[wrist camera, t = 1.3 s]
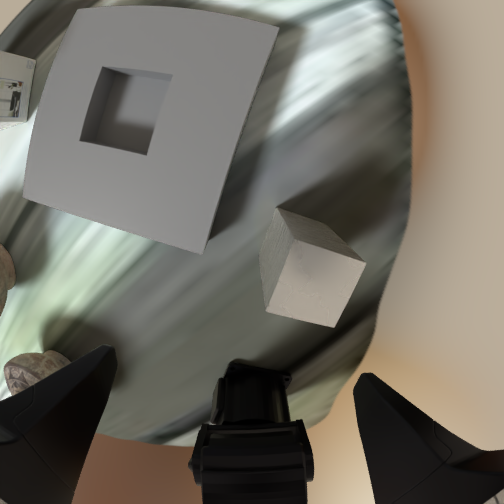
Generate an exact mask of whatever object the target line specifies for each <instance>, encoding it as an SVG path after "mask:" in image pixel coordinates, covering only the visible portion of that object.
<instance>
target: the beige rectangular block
mask: <svg viewBox="0 0 504 504" xmlns="http://www.w3.org/2000/svg"><path fill="white" fill-rule="evenodd" d="M259 263H260V270H261V278H262V286H263V294H264V302H265V309H266V312H270V313H274V314H278V315H282V316H286V317H290V318H294V319H298V320H302V321H307V322H311V323H315V324H320V325H324V326H329V327H333V328H334V327H335V325H336V323H337V321H338V320H339V318H340V316H341V314H342V312H343V310H344V308H345V306H346V304H347V302H348V300H349V298H350V296H351V294H352V292H353V290H354V288H355V286H356V284H357V282H358V280H359V278H360V276H361V274H362V272H363V269H364V267H365V265H366V262H365V261H364V260H363V259H362V258H361V257H360V256H359V255H358V254H357V253H356V252H355V251H353V250H352V249H351V248H350V247H349V246H348V245H347V244H346V243H345V242H344V241H343V240H342V239H341V238H340V237H339V236H338V235H337V234H336V233H334V232H333V231H332V230H331V229H330V228H329V227H328V226H327V225H326V224H324V223H321V222H319V221H316V220H313V219H310V218H307V217H304V216H301V215H299V214H296V213H293V212H290V211H287V210H284V209H281V208H278V207H276V208H275V211H274V214H273V217H272V220H271V222H270V225H269V228H268V231H267V234H266V237H265V239H264V242H263V245H262V248H261V251H260V253H259Z"/></svg>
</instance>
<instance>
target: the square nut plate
mask: <svg viewBox="0 0 504 504" xmlns="http://www.w3.org/2000/svg"><path fill="white" fill-rule="evenodd" d="M278 32H279V27H276V26H273V25H269V24H266V23H262V22H258V21H254V20H250V19H246V18H242V17H237V16H232V15H227V14H222V13H216V12H210V11H204V10H197V9H188V8H179V7H166V6H142V5H128V6H104V7H92V8H83V9H77V11H76V13H75V15H74V17H73V19H72V21H71V23H70V25H69V27H68V29H67V31H66V33H65V35H64V37H63V39H62V42H61V44H60V46H59V48H58V51H57V53H56V56H55V58H54V61H53V63H52V66H51V69H50V71H49V74H48V77H47V80H46V83H45V86H44V89H43V92H42V96H41V99H40V103H39V106H38V110H37V114H36V118H35V122H34V126H33V130H32V135H31V140H30V145H29V151H28V157H27V163H26V170H25V178H24V187H23V198H25V199H28V200H31V201H34V202H37V203H40V204H43V205H46V206H49V207H52V208H55V209H58V210H61V211H64V212H67V213H70V214H73V215H76V216H79V217H82V218H85V219H89V220H92V221H95V222H98V223H101V224H104V225H107V226H110V227H114V228H117V229H120V230H123V231H126V232H129V233H133V234H136V235H139V236H142V237H145V238H149V239H152V240H155V241H158V242H162V243H165V244H168V245H171V246H175V247H178V248H181V249H185V250H188V251H191V252H195V253H198V254H201V255H203V253H204V250H205V248H206V245H207V243H208V240H209V237H210V233H211V230H212V226H213V223H214V220H215V216H216V213H217V210H218V206H219V203H220V200H221V196H222V193H223V190H224V187H225V184H226V180H227V177H228V174H229V171H230V168H231V165H232V162H233V159H234V156H235V153H236V150H237V147H238V144H239V141H240V138H241V135H242V132H243V129H244V126H245V123H246V120H247V117H248V115H249V112H250V109H251V106H252V103H253V100H254V98H255V95H256V92H257V90H258V87H259V84H260V81H261V79H262V76H263V73H264V71H265V68H266V66H267V63H268V60H269V58H270V55H271V53H272V50H273V48H274V45H275V42H276V39H277V35H278Z"/></svg>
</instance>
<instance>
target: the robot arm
mask: <svg viewBox="0 0 504 504" xmlns="http://www.w3.org/2000/svg"><path fill="white" fill-rule="evenodd" d="M232 367H235V368H232ZM116 370H117V358H116V353H115V348H114V347H113V346H110V345H106V344H102V345H101V346H99V347H97V348H95V349H94V350H92V351H90V352H89V353H87V354H85V355H83V356H82V357H80V358H78V359H76V360H75V361H73V362H71V363H70V364H68V365H66V366H64V367H63V368H61V369H59V370H57V371H56V372H54V373H52V374H51V375H49V376H47V377H45V378H44V379H42V380H40V381H38V382H37V383H35V384H34V385H31V386H30V387H28V388H26V389H24V390H22V391H20V392H19V393H17V394H15V395H13V396H10V397H8V398H6V399H4V400H2V401H0V504H71V503H72V500H73V496H74V491H75V489H76V486H77V483H78V480H79V477H80V474H81V471H82V468H83V465H84V462H85V459H86V456H87V454H88V451H89V448H90V445H91V443H92V440H93V437H94V434H95V432H96V429H97V427H98V424H99V422H100V419H101V417H102V414H103V412H104V409H105V407H106V404H107V401H108V398H109V394H110V391H111V387H112V384H113V380H114V377H115V374H116ZM291 380H292V376H291V374H289V373H283V372H278V371H272V370H267V369H262V368H257V367H252V366H248V365H243V364H239V363H234V362H232V363H229V364H228V366H227V369H226V371H225V374H224V376H223V378H219V379H218V382H217V385H216V387H215V390H214V392H213V400H212V410H211V419H210V421H211V423H212V424H216V425H209V424H203V423H202V426H201V430H199V433H198V436H197V440H196V443H195V447H194V450H193V454H192V458H191V459H190V461H189V463H188V467H189V469H190V470H191V471H192V472H193V475H194V479H195V482H196V484H197V485H198V486H201V488H202V501H203V504H307V501H308V500H307V482H311V481H313V478H314V460H313V453H312V449H311V445H310V442H309V439H308V436H307V433H306V429H305V426H304V423H303V420H302V419H300V420H296V421H291V419H290V413H289V406H288V400H287V394H286V389H287V387H288V385H289V384H290V382H291ZM353 395H354V402H355V409H356V417H357V423H358V428H359V433H360V437H361V440H362V444H363V449H364V453H365V457H366V461H367V466H368V471H369V475H370V480H371V484H372V489H373V494H374V499H375V504H504V450H495V451H485V450H481V449H478V448H476V447H475V446H473V445H471V444H469V443H468V442H466V441H464V440H463V439H461V438H459V437H458V436H456V435H455V434H453V433H451V432H450V431H448V430H447V429H446V428H444V427H443V426H441V425H440V424H439V423H437V422H436V421H433V419H432V418H430V417H429V416H428V415H427V414H425V413H424V412H423V411H421V410H420V409H419V408H417V407H416V406H415V405H413V404H412V403H411V402H409V401H408V400H407V399H405V398H404V397H403V396H402V395H400V394H399V393H398V392H396V391H395V390H394V389H392V388H391V387H390V386H389V385H387V384H386V383H385V382H383V381H382V380H381V379H379V378H378V377H377V376H376V375H374V374H373V373H362V374H361V375H360V377H359V379H358V381H357V383H356V385H355V386H354V389H353Z"/></svg>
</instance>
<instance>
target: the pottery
mask: <svg viewBox="0 0 504 504" xmlns="http://www.w3.org/2000/svg"><path fill="white" fill-rule="evenodd" d="M15 280H16V275H15V268H14V264H13V261H12V258H11V256H10V254H9V253H8V251H7V250H6V249H5V247H4V246H3V245H1V244H0V316H1V314H2V312H3V309H4V306H5V303H6V299H7V291H8V290H10V289H12V288H13V287H14V285H15ZM70 363H71V362H70V361H69V360H68V359H67V358H66V357H64V356H63V355H62V354H60V353H58V352H56V351H52V350H47V351H46V352H45V353H44V354H42V353H25V354H20V355H18V356H16V357H14V358H12V359H11V360H9V361H8V362H7V363H6V364H5V366H4V376H5V380H6V383H7V386H8V388H9V391H10V392H11V395H12V396H13V395H15V394H17V393H19V392H20V391H22V390H24V389H26V388H28V387H30V386H31V385H34V384H35V383H37V382H38V381H40V380H42V379H44V378H45V377H47V376H49V375H51V374H52V373H54V372H56V371H57V370H59V369H61V368H63V367H64V366H66V365H68V364H70Z"/></svg>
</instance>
